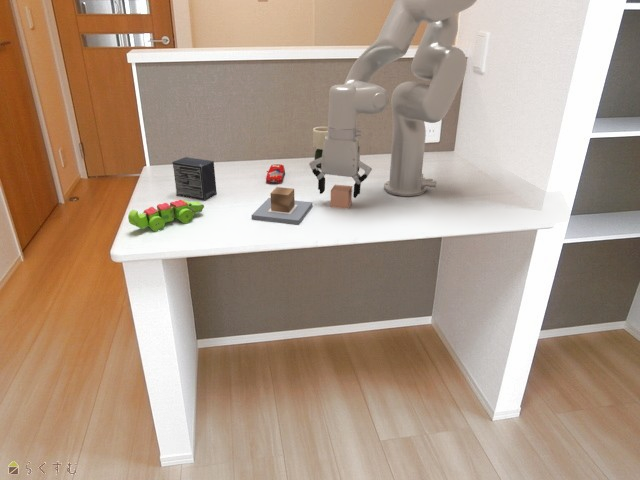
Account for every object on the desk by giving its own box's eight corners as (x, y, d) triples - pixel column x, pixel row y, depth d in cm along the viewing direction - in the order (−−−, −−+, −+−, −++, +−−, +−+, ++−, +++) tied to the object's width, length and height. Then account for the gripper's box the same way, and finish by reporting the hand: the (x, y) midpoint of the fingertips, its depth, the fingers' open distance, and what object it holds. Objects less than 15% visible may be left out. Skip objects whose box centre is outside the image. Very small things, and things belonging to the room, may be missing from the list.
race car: (281, 186, 156) (281, 173, 154) (264, 185, 156) (264, 173, 154) (286, 172, 168) (286, 161, 166) (270, 172, 168) (270, 160, 166)
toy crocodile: (197, 210, 138) (195, 189, 135) (209, 217, 133) (206, 196, 130) (126, 229, 126) (122, 207, 124) (136, 238, 122) (132, 215, 119)
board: (312, 206, 140) (312, 201, 139) (298, 224, 129) (298, 220, 128) (268, 201, 143) (268, 197, 142) (251, 219, 132) (251, 214, 131)
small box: (218, 194, 148) (215, 160, 144) (205, 201, 143) (201, 166, 139) (189, 189, 152) (185, 155, 148) (175, 195, 147) (171, 161, 143)
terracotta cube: (351, 202, 143) (352, 186, 141) (347, 208, 139) (348, 192, 136) (334, 200, 144) (334, 184, 142) (330, 207, 140) (330, 190, 138)
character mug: (337, 170, 169) (338, 132, 163) (316, 171, 168) (316, 133, 162) (329, 160, 179) (329, 124, 173) (309, 162, 177) (309, 125, 171)
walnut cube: (294, 205, 137) (294, 188, 135) (288, 212, 132) (288, 195, 130) (277, 204, 138) (276, 187, 136) (271, 210, 134) (270, 193, 131)
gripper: (376, 133, 133) (371, 193, 141) (314, 127, 137) (312, 186, 145) (371, 139, 127) (366, 202, 134) (306, 133, 131) (305, 195, 138)
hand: (338, 194), depth 139 cm, fingers open, 9 cm apart
